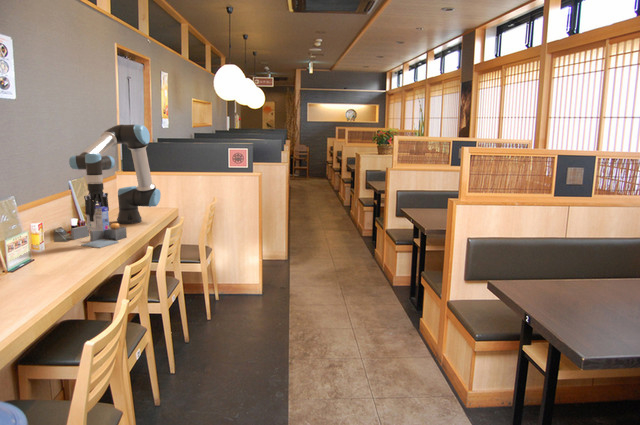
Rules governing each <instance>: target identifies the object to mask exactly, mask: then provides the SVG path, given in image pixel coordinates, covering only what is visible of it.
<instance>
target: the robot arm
mask: <svg viewBox="0 0 640 425" xmlns="http://www.w3.org/2000/svg"><path fill="white" fill-rule="evenodd" d="M150 142H151V135H150V131H149V129H148V128H147V127H146V126H145V125H143V124H117V125H114V126H112V127H109V128H107V129H106V130H105V131H103V132H102V133H101V135H100V137H99V138H98V139H96V140H95V141H94V142H93V143H92V144H91V145H89V146H88V147H87V148H85V150H83V152H81V153H80V154H79V155H77V154H75V155H71V156H70V157H69V161H68V164H69V168H71V169H72V170H78V171H82V170H86V182H87V190H88V191H87V192H88V195H84V196H83V197H84V205H85V206H84V207H85V208H84V210H85V215H86V216H87V215H89V217H90V221H91V227H93V228H96V218H95V215H94V211H95V205H97V204H96V202H101V206H100V207H108V212H109V211H110V208H109V201H108V200H109V198H108V195H109V193H108V192H104V183H103V182H104V178H103V177H104V176H103V171H105V170H106V171H107V170H111V169H113V168H114V167H115V163H116V161H115V158H114V157H113V156H111V155H103V154H104V153H105V152H107V151H108V150H109V149H110V148H112V147H115V146H117V145H123V144H124V145H126V146H127V149H129V150H130V151H131V156H132V160H133V165H134V166H133V167H134V171H135V175H136V182H137V186H136V185H132V186H125V187H121V188H118V189H117V201H118V213H117V217H116V223H119V225H128V224H129V225H130V224H138V223H141V222H142V221H143V218H142V216H141V214H140V211H139V207H147V208H148V207H149V208H151V207H157V206H158V205H159V204H160V201H161V198H162V196H161V190H160V189H159V188H156V185H155V184H154V183H153V179H152V175H151V169H150V164H149V158H148V154H147V153H148V152H147V147H148V146H149V145H148V144H149V143H150ZM98 205H100V204H98Z"/></svg>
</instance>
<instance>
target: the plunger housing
mask: <svg viewBox="0 0 640 425" xmlns="http://www.w3.org/2000/svg"><path fill="white" fill-rule="evenodd" d="M109 228H110V229H108V230H104V234H105V239H104V240H111V241H120V240H124V239H127V238H128V237H127V236H128V235H127V227H126V226H119V228H117V229H113V228H111V226H109Z"/></svg>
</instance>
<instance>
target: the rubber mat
mask: <svg viewBox="0 0 640 425" xmlns="http://www.w3.org/2000/svg"><path fill="white" fill-rule="evenodd" d="M119 242H120V240H117V241H114V240H106V239H100V240H96V241H93V242H91V241H90V242H87V243H86V242H85V243H82V244H80V246H81V247H86V248H87V247H89V248H94V249H95V248H97V249H101V248H105V247H108V246H112V245H115V244H119Z"/></svg>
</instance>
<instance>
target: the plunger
mask: <svg viewBox="0 0 640 425" xmlns="http://www.w3.org/2000/svg"><path fill="white" fill-rule="evenodd" d="M110 227H111V228H113V229H117V228H119V227H120V224H119V223H117V222H114V223H113V222H112V223H111V224H110Z"/></svg>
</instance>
